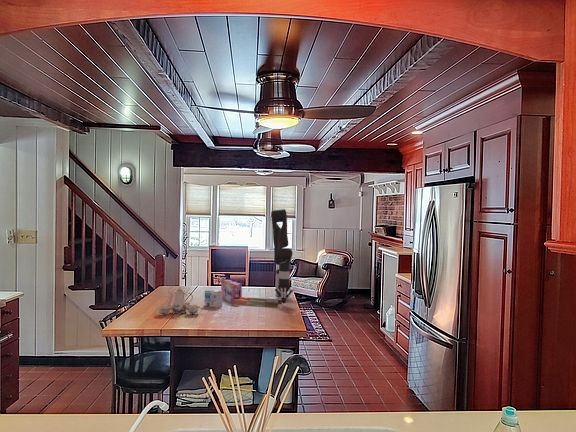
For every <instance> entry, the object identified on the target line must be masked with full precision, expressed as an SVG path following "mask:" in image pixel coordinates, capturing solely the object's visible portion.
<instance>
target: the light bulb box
mask: <svg viewBox="0 0 576 432" xmlns="http://www.w3.org/2000/svg"><path fill="white" fill-rule="evenodd" d="M222 293H223V291H222V290H221V289H213V288H209V289H208V288H207V289H205V290H204V306H205V307H212V308H219V307H222V306H223V298H222Z"/></svg>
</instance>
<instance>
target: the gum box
mask: <svg viewBox="0 0 576 432" xmlns="http://www.w3.org/2000/svg"><path fill="white" fill-rule="evenodd" d="M220 283H221V284H220V286H221V287H220V290H222V291H223V293H222V299H224V300H226V301H228V302H230V303H235V299H236V300H240V297H243V294H242V293H243V287H242V282H240V281H238V280H235V279H232V278H221V281H220Z"/></svg>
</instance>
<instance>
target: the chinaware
mask: <svg viewBox="0 0 576 432" xmlns="http://www.w3.org/2000/svg"><path fill="white" fill-rule="evenodd" d="M168 294H169V296H168V300H167V305H165V304H162V305H157V308H156V309H155V311H156V313H157V314H159V315H166V316H167V315H168V314H169V313H170V311H171V312H172V314H174V313H183V314H185V312H186V313H187V312H188V313H189V314H190V315H191V314H198V313H201V312H202V311H203V309H202V307H201V305H198V304H192V305H191V304H190V302H192V300H193V299H194V297H193V294H192V293H191V292H185V290H183V289H182V288H181V286H180V287H178V289H177V290H175V291H174V294H175V295H174V301H173V302H172V298H173V294H172V292H171V291H168ZM188 294H190V296H191V299H190V300H189V301H185V300H186V299H185V296H187V295H188ZM199 309H201V311H199ZM157 310H158V311H157Z"/></svg>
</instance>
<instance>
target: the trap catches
mask: <svg viewBox="0 0 576 432" xmlns="http://www.w3.org/2000/svg"><path fill="white" fill-rule="evenodd" d="M251 298H252V297H246V296H242V297H240V300H236V299H235V302H234V304H241V306H246V304H247V300H250V301H251Z"/></svg>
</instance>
